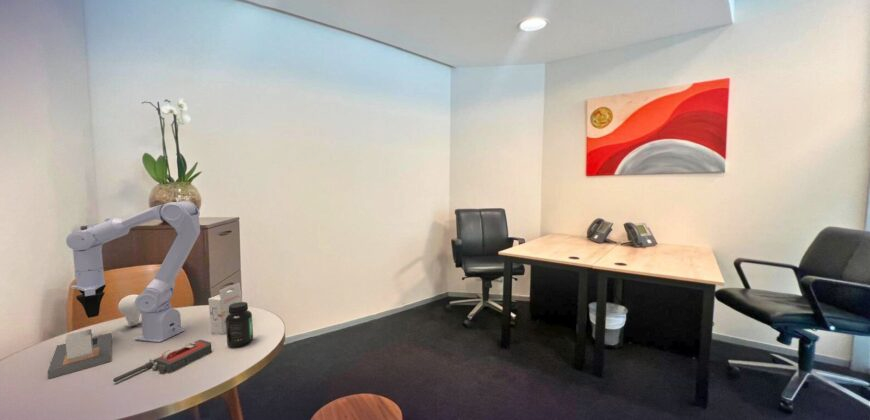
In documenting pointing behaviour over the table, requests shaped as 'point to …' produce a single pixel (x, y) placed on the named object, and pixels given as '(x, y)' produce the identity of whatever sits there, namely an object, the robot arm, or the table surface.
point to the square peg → (79, 345)
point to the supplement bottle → (239, 325)
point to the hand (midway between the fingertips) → (93, 312)
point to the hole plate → (100, 356)
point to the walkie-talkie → (174, 358)
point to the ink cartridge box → (223, 307)
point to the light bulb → (130, 310)
